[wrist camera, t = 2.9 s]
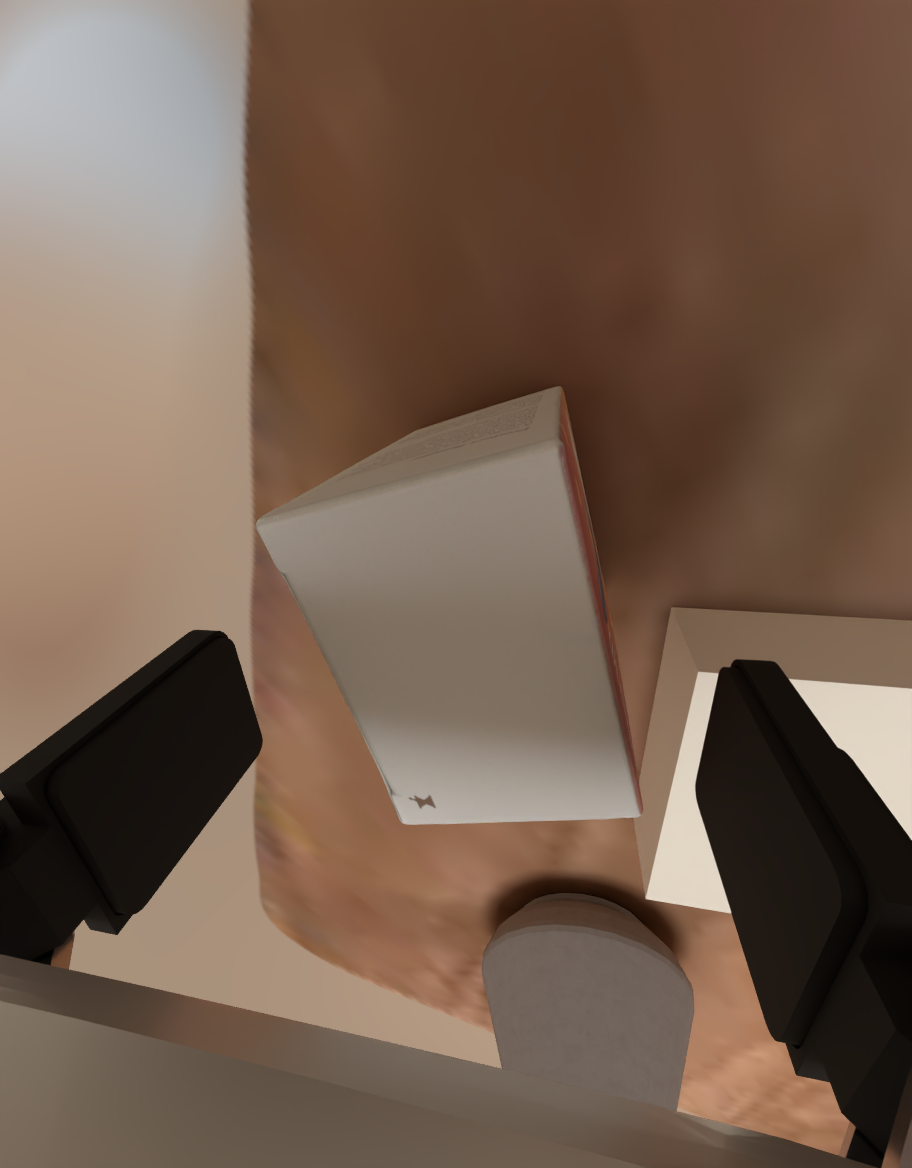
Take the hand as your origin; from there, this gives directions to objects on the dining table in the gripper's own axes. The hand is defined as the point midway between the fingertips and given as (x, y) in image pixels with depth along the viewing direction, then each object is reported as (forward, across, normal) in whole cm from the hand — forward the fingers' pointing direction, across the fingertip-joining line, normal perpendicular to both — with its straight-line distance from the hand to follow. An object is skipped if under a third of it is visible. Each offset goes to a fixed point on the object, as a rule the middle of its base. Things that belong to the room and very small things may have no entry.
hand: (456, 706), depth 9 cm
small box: (+11, 0, -1) cm, 11 cm away
